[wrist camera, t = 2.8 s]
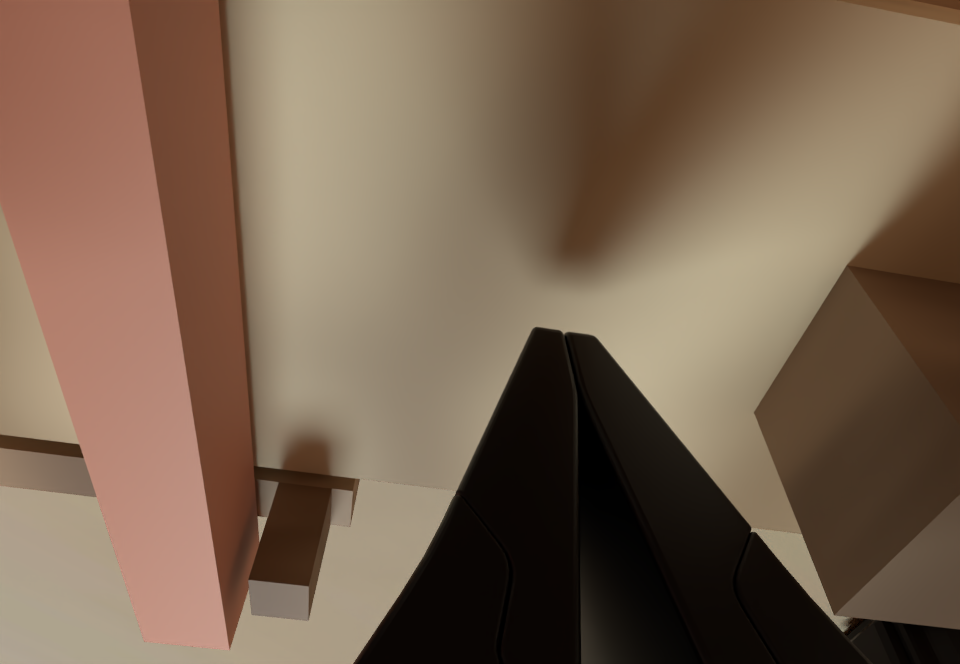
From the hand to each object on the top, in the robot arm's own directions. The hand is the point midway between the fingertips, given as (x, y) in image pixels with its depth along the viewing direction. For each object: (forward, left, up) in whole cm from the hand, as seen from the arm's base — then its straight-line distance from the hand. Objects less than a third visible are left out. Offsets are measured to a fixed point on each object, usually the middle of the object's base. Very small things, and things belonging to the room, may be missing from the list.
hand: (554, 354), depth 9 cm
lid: (+1, 0, -2) cm, 2 cm away
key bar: (+5, 0, -1) cm, 5 cm away
